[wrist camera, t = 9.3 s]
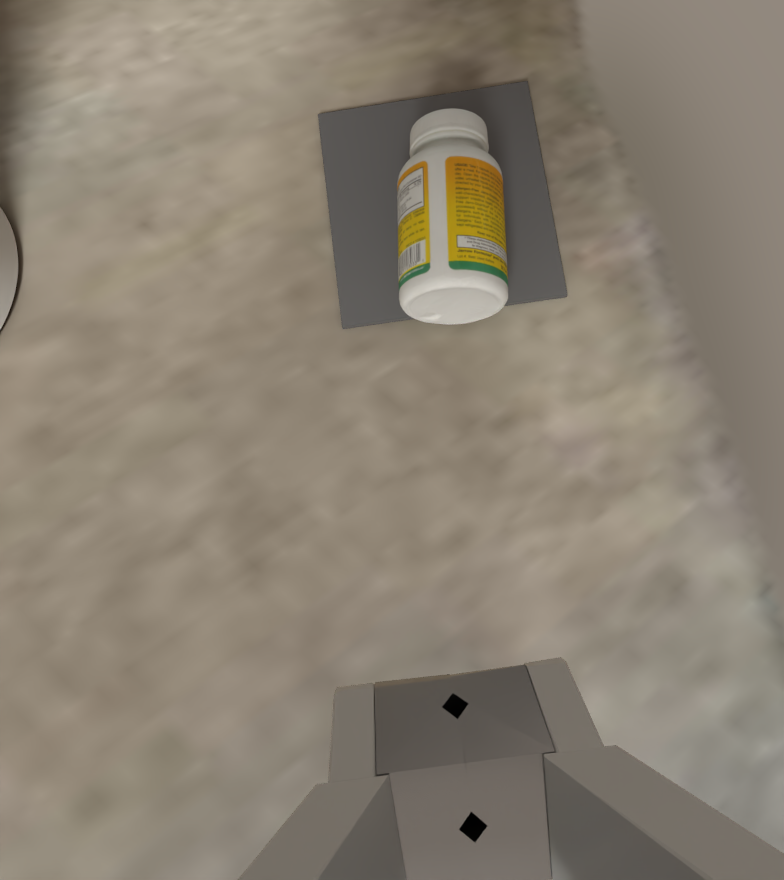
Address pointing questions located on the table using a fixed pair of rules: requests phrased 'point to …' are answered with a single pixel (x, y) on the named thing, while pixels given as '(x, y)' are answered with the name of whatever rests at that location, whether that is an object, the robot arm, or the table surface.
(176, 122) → the table surface
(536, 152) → the rubber mat
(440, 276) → the supplement bottle
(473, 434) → the table surface
